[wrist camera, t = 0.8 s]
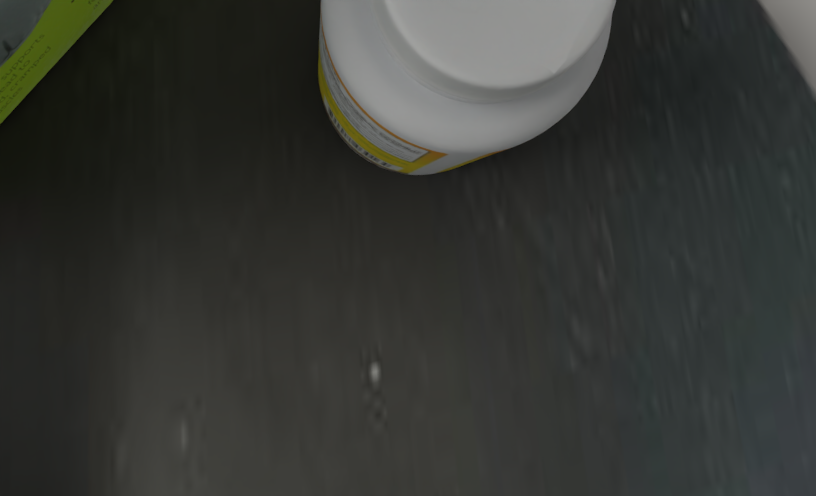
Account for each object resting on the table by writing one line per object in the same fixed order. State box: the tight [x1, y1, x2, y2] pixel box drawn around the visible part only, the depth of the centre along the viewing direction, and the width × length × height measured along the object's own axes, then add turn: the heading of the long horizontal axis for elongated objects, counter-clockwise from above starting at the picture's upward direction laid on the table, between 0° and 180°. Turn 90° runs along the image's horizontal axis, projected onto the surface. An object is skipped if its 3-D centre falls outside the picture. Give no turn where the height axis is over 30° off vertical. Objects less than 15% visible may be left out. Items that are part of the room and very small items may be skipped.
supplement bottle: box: [318, 0, 616, 175], centre depth 17 cm, size 6×6×10 cm
